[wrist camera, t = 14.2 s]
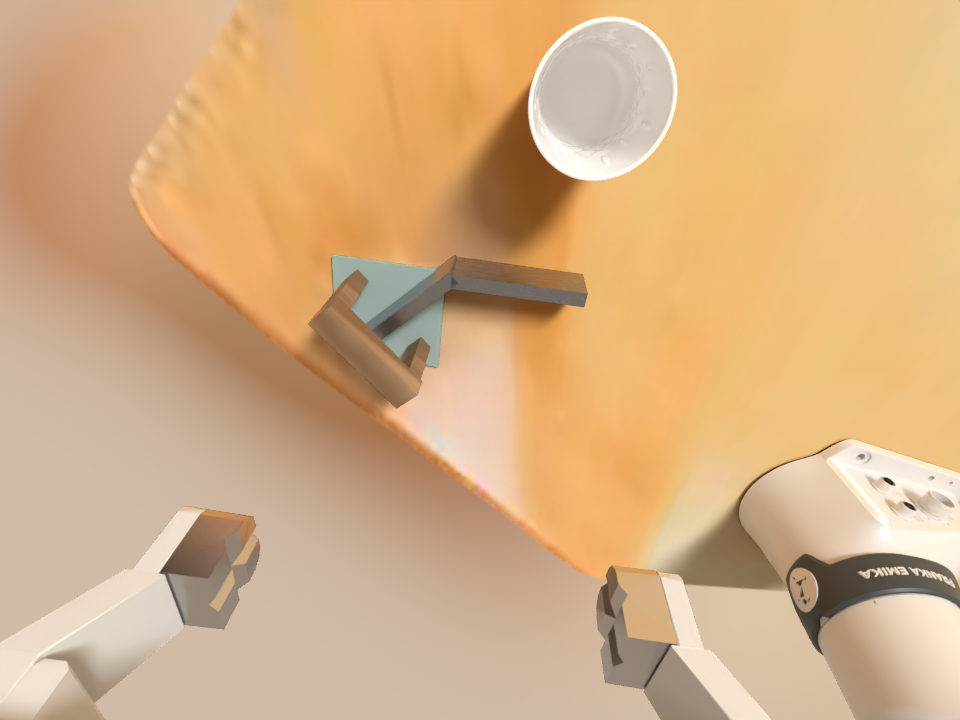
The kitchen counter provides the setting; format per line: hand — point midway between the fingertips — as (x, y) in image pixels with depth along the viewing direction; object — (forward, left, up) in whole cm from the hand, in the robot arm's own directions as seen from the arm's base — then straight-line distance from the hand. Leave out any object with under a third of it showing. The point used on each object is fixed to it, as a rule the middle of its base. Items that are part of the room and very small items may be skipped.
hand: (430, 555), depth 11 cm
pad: (+9, +12, -33) cm, 36 cm away
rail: (+1, +10, -33) cm, 34 cm away
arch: (+9, +12, -33) cm, 36 cm away
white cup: (-5, -8, -33) cm, 35 cm away
